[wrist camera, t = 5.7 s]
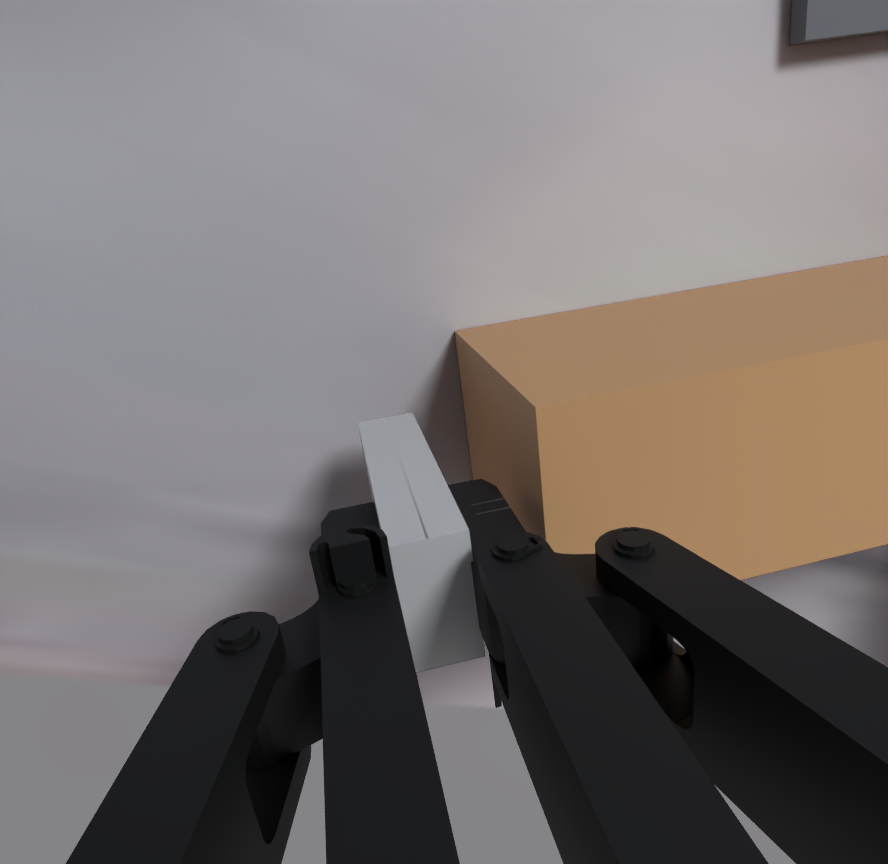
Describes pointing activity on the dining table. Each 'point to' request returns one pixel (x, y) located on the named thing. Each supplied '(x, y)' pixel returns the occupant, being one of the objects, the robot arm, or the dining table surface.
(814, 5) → the mat
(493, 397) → the plug
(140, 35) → the dining table surface
